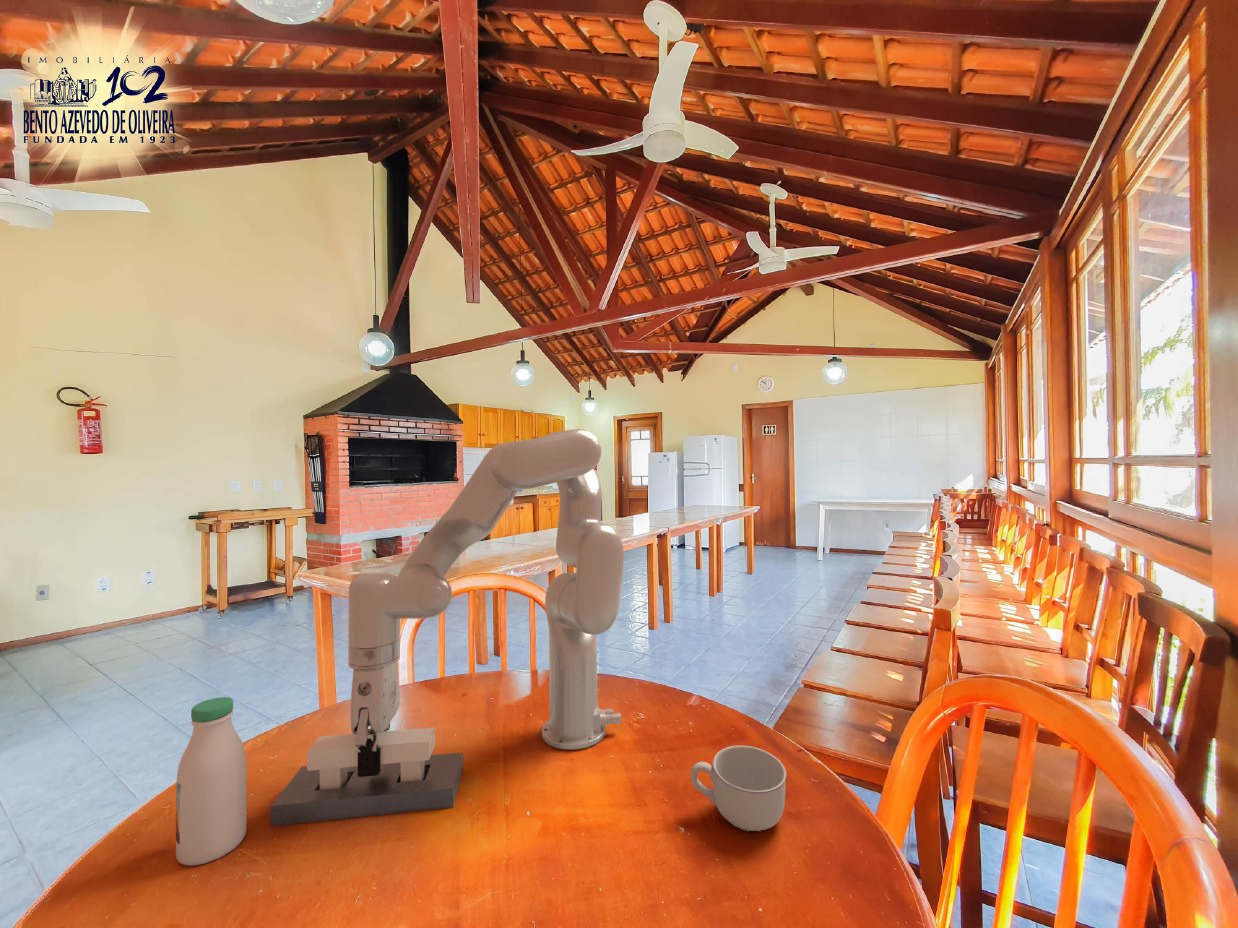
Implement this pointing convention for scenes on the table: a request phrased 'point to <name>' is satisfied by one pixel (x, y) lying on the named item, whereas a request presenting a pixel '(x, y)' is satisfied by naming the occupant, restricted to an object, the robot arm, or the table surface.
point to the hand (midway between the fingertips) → (374, 764)
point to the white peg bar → (394, 748)
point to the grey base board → (368, 793)
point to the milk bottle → (211, 786)
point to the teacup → (745, 786)
